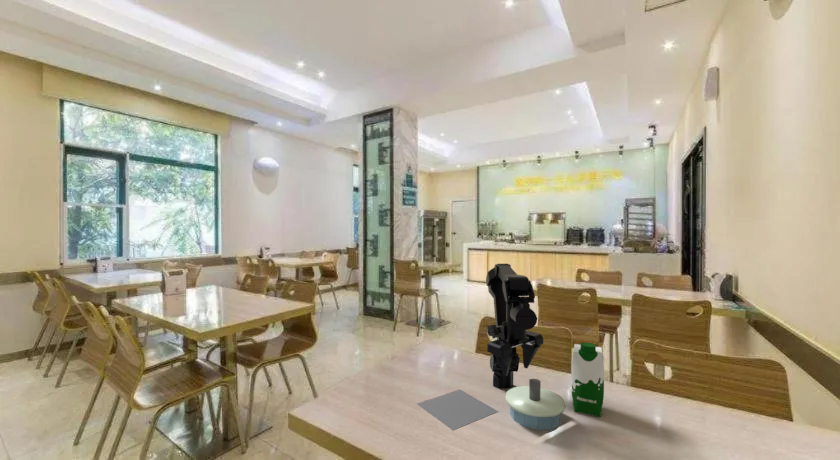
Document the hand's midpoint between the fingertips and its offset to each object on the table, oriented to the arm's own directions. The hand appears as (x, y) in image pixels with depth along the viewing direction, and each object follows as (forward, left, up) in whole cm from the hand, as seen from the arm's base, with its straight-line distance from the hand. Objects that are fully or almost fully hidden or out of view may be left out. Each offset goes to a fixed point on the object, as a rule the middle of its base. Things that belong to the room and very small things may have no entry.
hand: (515, 371), depth 107 cm
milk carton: (-19, +11, -12) cm, 25 cm away
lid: (-1, +6, -7) cm, 9 cm away
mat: (+14, -10, -12) cm, 21 cm away
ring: (-1, +6, -12) cm, 13 cm away
